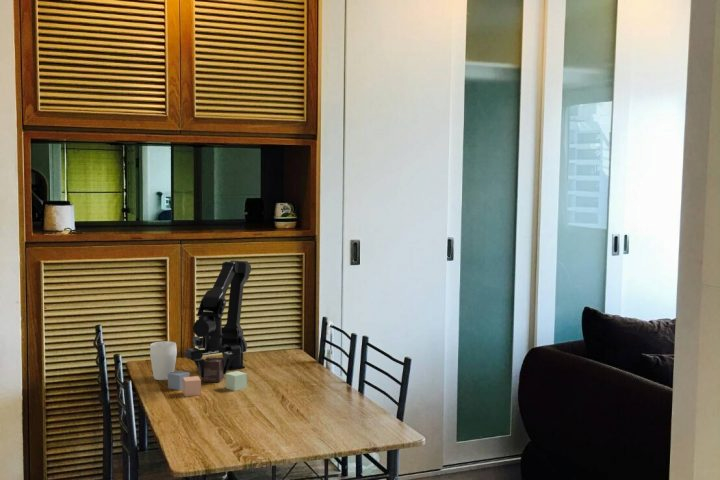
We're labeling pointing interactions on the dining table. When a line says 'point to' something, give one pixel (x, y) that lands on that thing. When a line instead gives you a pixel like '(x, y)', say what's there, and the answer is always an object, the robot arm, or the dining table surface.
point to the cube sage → (236, 380)
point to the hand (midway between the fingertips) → (213, 375)
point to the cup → (163, 358)
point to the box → (213, 369)
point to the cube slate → (177, 379)
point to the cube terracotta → (191, 386)
